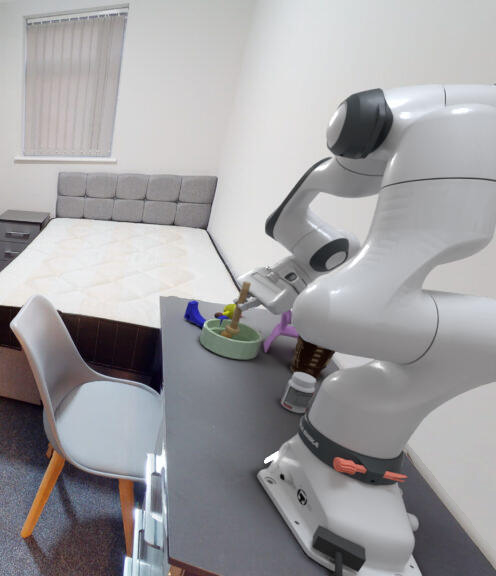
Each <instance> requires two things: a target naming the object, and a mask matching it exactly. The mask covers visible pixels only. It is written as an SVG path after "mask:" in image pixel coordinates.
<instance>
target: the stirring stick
mask: <svg viewBox="0 0 496 576" xmlns="http://www.w3.org/2000/svg"><path fill="white" fill-rule="evenodd" d="M250 285H251V283H250V282H243V285H242V288H241V287H240V292H239V295H238V296H239V298H238V301H237V304H236V308H235V311H234V314H233V317H232V320H231V324H230V325H226V327H225V332H227V333H229V334H232V335H238V334H239V332H240V328H239V327H237V326H238V323H239V322H240V320H241V318H242V317H241V315H242V314H243V312H242V310H241V309H240V308H239V307H238V304H241V303H242V302H244V303H245V302H247V299H248V298H247V295H248V292H249V289H250ZM240 317H241V318H240Z"/></svg>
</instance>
